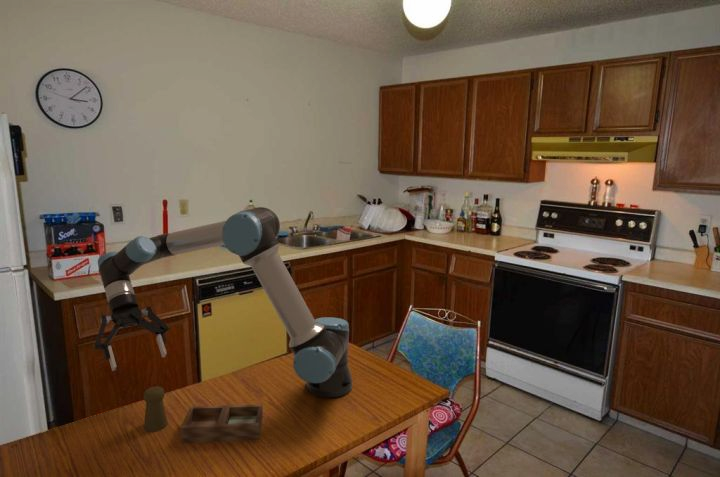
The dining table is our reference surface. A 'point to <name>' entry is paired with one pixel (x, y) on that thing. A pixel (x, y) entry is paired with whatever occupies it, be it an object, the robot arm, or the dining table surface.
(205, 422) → the stand
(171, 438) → the dining table surface
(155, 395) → the cork
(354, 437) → the dining table surface
